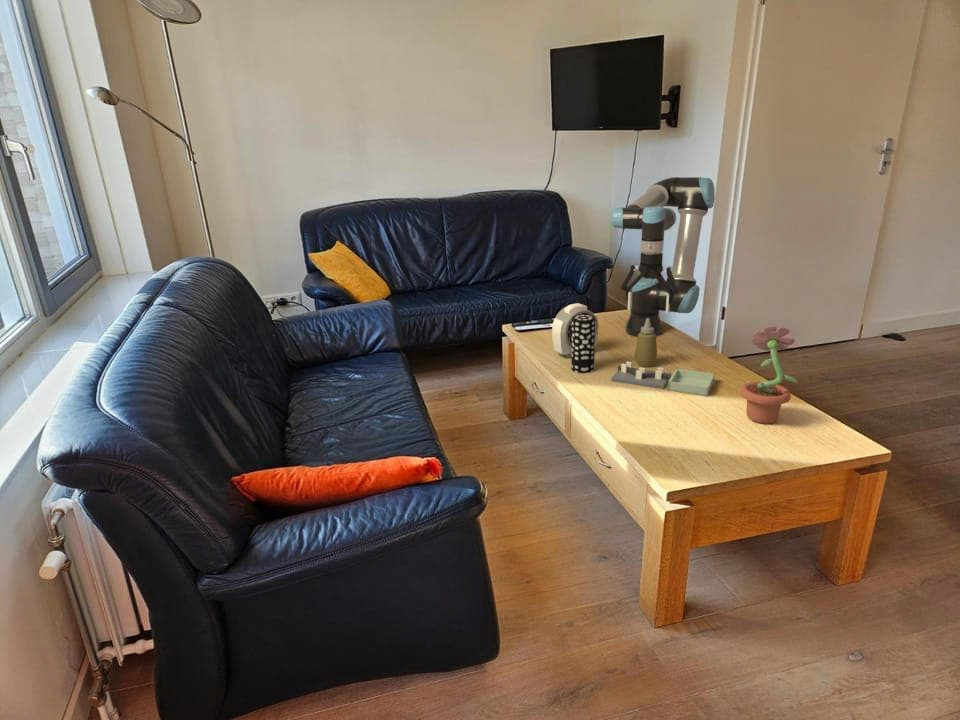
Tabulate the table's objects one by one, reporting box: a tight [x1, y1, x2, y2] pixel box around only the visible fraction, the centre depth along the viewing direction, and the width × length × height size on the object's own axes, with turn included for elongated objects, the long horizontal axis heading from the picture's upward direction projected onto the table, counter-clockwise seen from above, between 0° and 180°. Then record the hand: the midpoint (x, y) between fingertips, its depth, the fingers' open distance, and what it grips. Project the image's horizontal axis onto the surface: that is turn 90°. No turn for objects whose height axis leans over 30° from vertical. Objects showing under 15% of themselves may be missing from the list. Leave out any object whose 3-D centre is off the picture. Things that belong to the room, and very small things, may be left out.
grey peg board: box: [610, 360, 672, 390], centre depth 221 cm, size 12×18×4 cm, turn 62°
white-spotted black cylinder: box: [570, 314, 596, 374], centre depth 229 cm, size 8×8×20 cm
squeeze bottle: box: [634, 318, 658, 368], centre depth 231 cm, size 8×8×18 cm
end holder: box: [666, 368, 715, 397], centre depth 213 cm, size 13×13×3 cm
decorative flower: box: [739, 325, 799, 425], centre depth 184 cm, size 15×14×30 cm
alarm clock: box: [551, 302, 600, 359], centre depth 244 cm, size 18×8×20 cm, turn 117°
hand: (648, 310), depth 226 cm, fingers open, 13 cm apart
